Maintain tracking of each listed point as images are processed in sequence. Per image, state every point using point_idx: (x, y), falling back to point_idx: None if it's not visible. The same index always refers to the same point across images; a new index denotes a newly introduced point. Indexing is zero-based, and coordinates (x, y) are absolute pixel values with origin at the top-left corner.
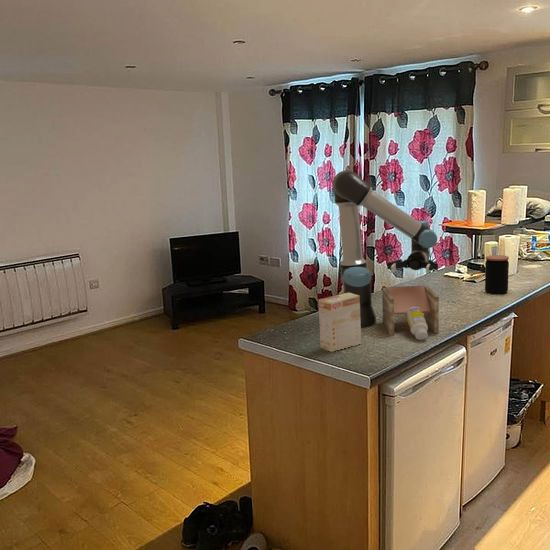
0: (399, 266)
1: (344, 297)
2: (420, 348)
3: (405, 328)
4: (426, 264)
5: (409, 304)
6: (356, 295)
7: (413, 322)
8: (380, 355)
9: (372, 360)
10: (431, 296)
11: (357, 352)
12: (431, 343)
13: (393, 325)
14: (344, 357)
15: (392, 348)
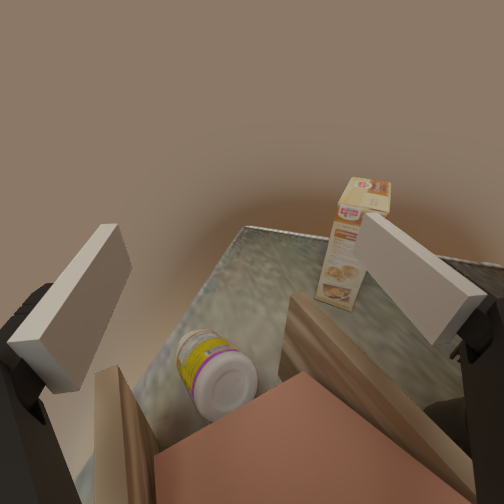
0: (483, 411)
1: (355, 191)
2: (194, 311)
3: None
4: (37, 459)
5: (263, 440)
6: (346, 202)
7: (216, 333)
8: (256, 269)
9: (259, 254)
10: (128, 451)
11: (296, 269)
12: (170, 345)
13: (282, 356)
14: (302, 253)
15: (248, 297)
